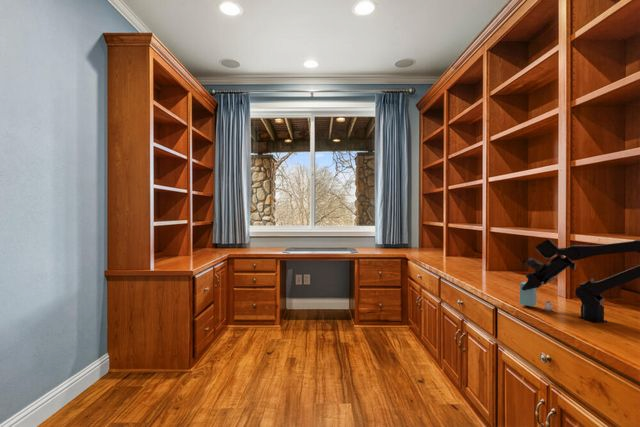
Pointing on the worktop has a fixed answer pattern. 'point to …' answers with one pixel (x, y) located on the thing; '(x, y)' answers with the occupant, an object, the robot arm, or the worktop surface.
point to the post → (548, 306)
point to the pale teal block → (528, 296)
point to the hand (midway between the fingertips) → (524, 288)
